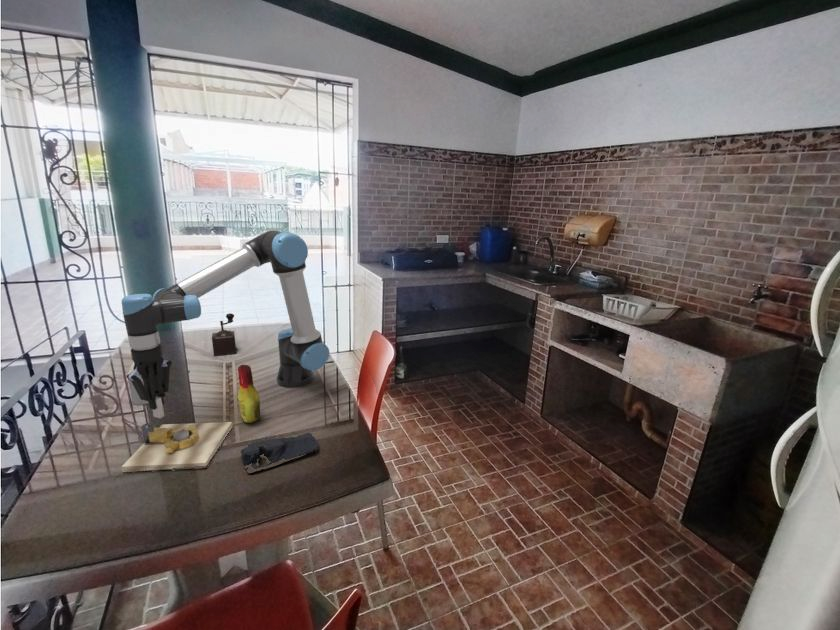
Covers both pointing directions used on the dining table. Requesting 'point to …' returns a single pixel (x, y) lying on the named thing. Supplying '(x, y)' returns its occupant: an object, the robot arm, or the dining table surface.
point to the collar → (168, 437)
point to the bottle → (248, 395)
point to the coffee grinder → (224, 340)
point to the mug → (136, 394)
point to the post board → (195, 455)
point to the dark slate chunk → (279, 449)
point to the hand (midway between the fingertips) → (159, 416)
